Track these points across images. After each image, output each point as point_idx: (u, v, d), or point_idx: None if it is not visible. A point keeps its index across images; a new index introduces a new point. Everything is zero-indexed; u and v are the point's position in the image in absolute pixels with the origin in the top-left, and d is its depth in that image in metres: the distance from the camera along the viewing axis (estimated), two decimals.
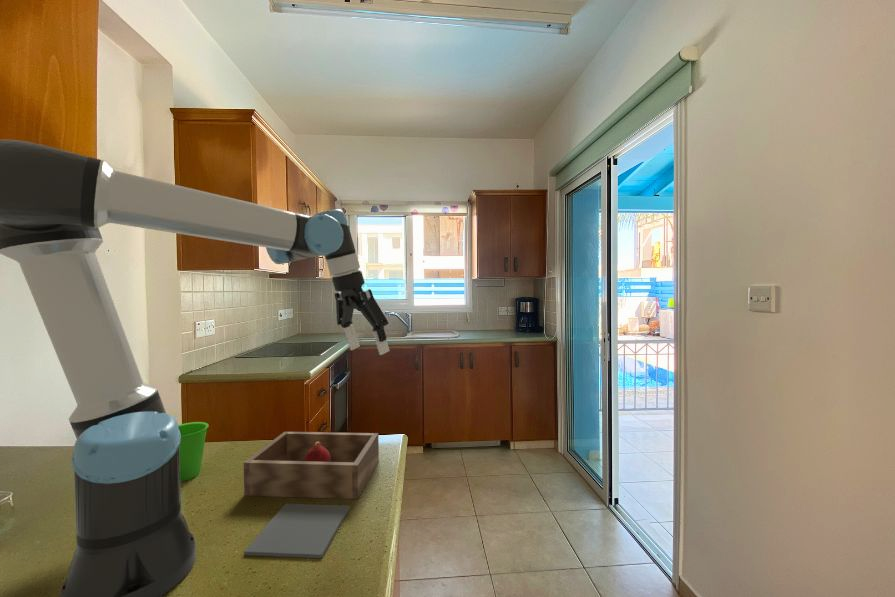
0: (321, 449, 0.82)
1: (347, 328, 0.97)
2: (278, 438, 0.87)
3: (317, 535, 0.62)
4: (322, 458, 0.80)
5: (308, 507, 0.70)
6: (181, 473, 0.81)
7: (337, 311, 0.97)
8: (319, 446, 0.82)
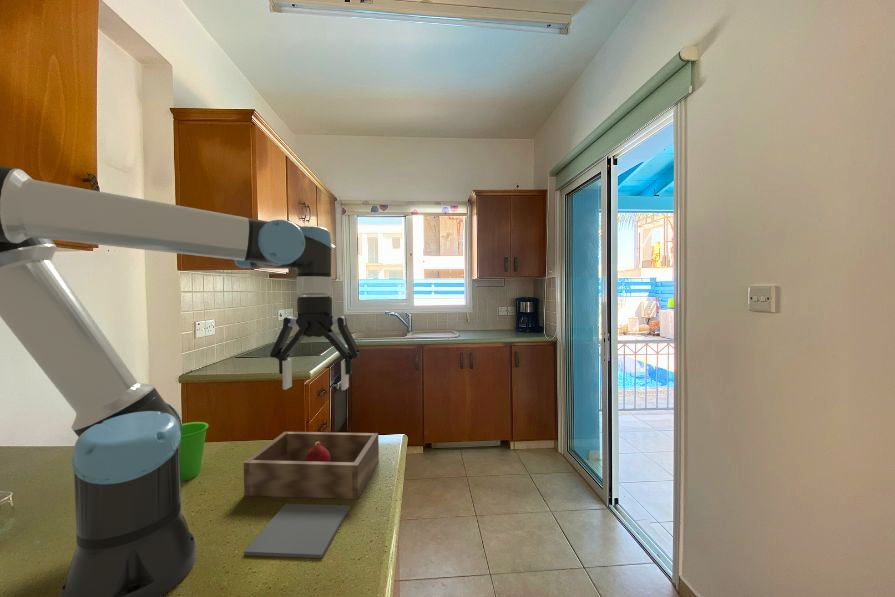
0: (321, 449, 0.82)
1: (287, 361, 0.82)
2: (278, 438, 0.87)
3: (317, 535, 0.62)
4: (322, 459, 0.80)
5: (308, 507, 0.70)
6: (181, 473, 0.81)
7: (279, 340, 0.81)
8: (319, 446, 0.82)
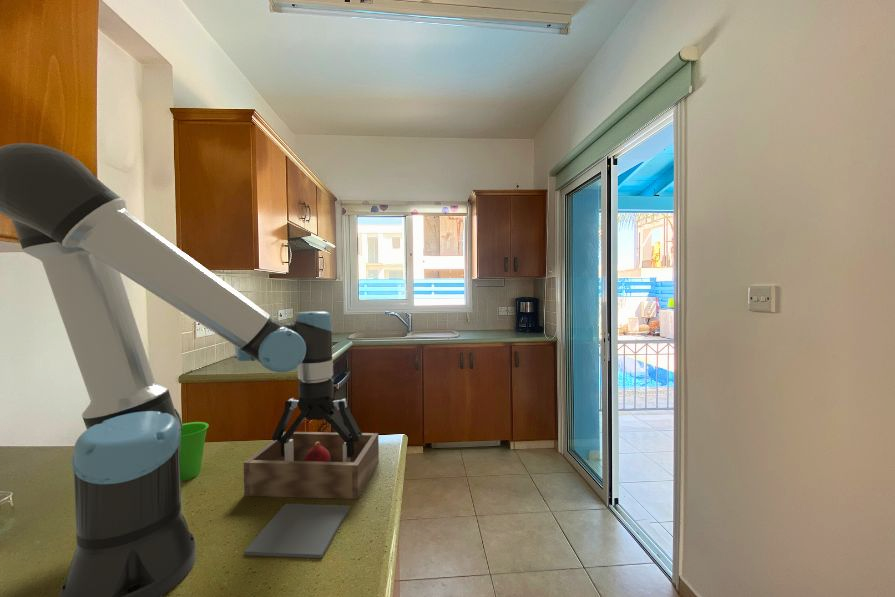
0: (321, 449, 0.82)
1: (288, 444, 0.82)
2: None
3: (317, 535, 0.62)
4: (322, 458, 0.80)
5: (308, 507, 0.70)
6: (181, 473, 0.81)
7: (280, 423, 0.81)
8: (319, 446, 0.82)
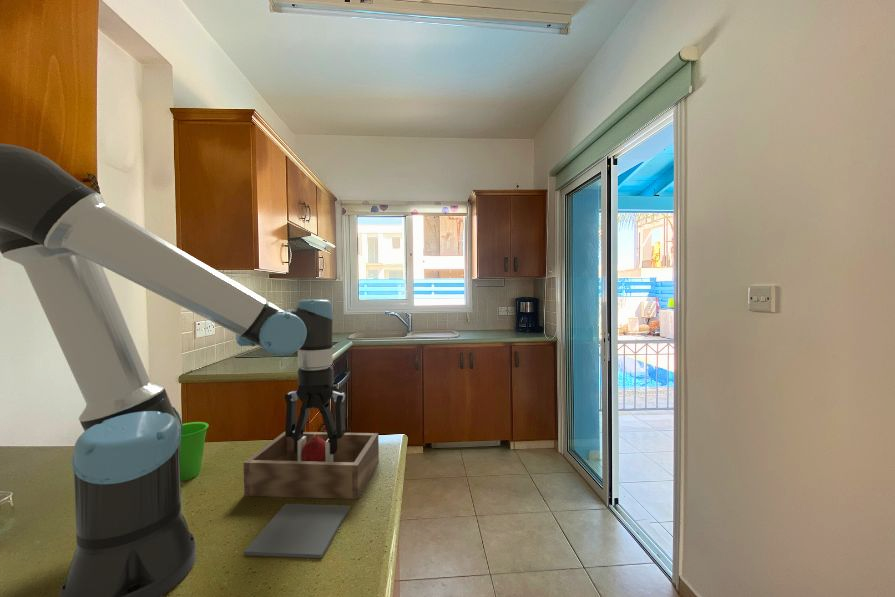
0: (320, 440, 0.81)
1: (302, 441, 0.82)
2: (278, 438, 0.87)
3: (317, 535, 0.62)
4: (320, 450, 0.80)
5: (308, 507, 0.70)
6: (181, 473, 0.81)
7: (288, 418, 0.81)
8: (317, 438, 0.82)
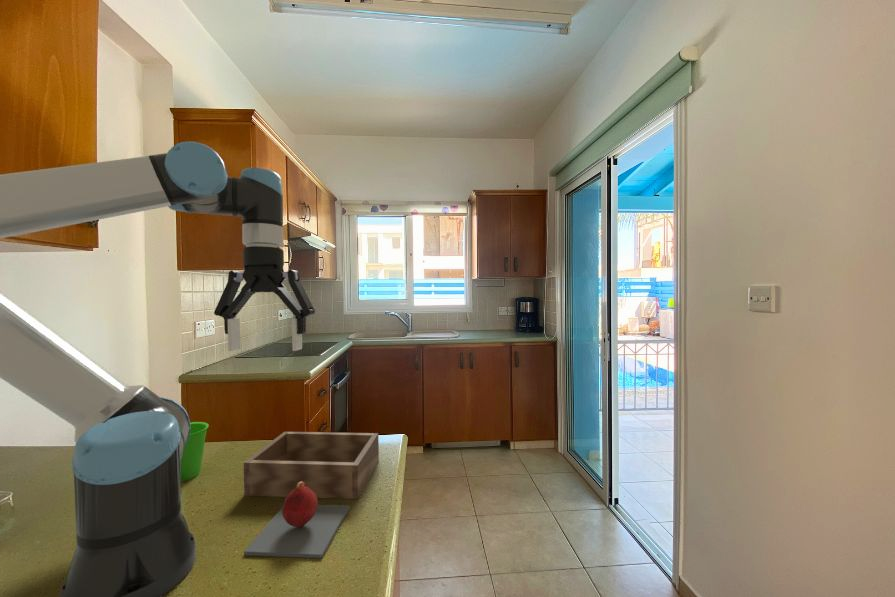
0: (305, 491, 0.63)
1: (233, 320, 0.74)
2: (278, 438, 0.87)
3: (317, 535, 0.62)
4: (305, 505, 0.62)
5: None
6: (181, 473, 0.81)
7: (223, 296, 0.73)
8: (302, 488, 0.64)
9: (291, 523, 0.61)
